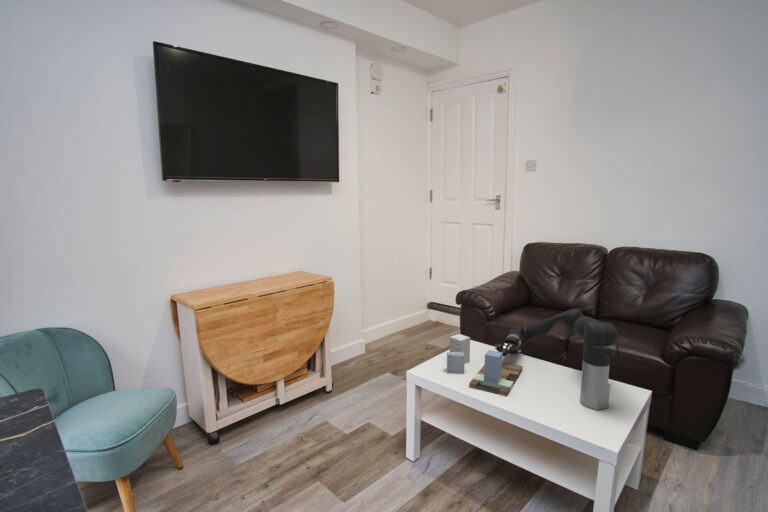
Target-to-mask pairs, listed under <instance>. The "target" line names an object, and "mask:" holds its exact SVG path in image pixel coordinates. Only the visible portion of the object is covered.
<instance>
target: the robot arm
mask: <svg viewBox="0 0 768 512" xmlns="http://www.w3.org/2000/svg"><path fill="white" fill-rule="evenodd" d="M562 320H563V322H564V324H565V326H566V328H567V330H568V331H569V332H570V333H571V334H575V335H579V336H580V337H582V338H583V346H582V347H583V349H582V350H583V352H582V353H583V355H582V368H581V381H580V396H579V402H580V404H582V405H583V406H584V407H586V408H590V409H593V410H595V411H600V410H604V409H608V408H609V405H610V393H611V384H610V383H609V376H610V375H609V374H610V366H611V365H610V363H611V359H610V356H609V355H608V354H606V353H604V352H602V351H600V350H597V349H596V348H595V346H596V347H606V348H607V347H613V346H614V345H615V344H616V343H617V341H618V336H619V335H618V331H617V328H616V327H615V325H614V324H613V323H611V322H607V321H600V320H598V319H595V318H592V317H590V316H585V315H584V314H583V312H582V310H581V309H580V308H572V309H568V310H566V311H563V312H560V313H559V314H556V315H553V316H551V317H548V318H546V319H544V320H541V321H538V322H534V323H530V324H527V326H526V327H525V328H524V326H523V325H522V324H520V323H517V324H514V325H512V326H511V327H510V329H509V333H508V336H506V338H505V339H504V340H503V341H502V343H499V344H498V343H495V344H494V348H495V350H496V352H502V353H503V355H502V357H507V356H508V355H512V356H513V355H519V354H521V352H522V348H521V347H520V346H521V345H523V344H525V343H527V342H528V341H530V340H533V339H534V338H537V337H541V336H545V335H547V334H549V333H550V331H551V330H552V329H553V328H554V327H555V325H557V323H559V322H561V321H562ZM525 329H526V330H525Z"/></svg>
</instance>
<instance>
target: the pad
mask: <svg viewBox="0 0 768 512" xmlns="http://www.w3.org/2000/svg"><path fill="white" fill-rule="evenodd" d="M472 379H477V380H480V384H483V385H487V386H491V387H496V388H500V389H501V388H502V386H503V385H504V386H508V387H510V392H511V390H512V388H514V385H513V381H509V380H504V379H501V380H500V382H499V383H498V384H495V383H491V382H486V381H484V375H482V374H477V373H476V374H475V376H474V377H473V378H472Z"/></svg>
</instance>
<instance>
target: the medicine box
mask: <svg viewBox="0 0 768 512" xmlns="http://www.w3.org/2000/svg"><path fill="white" fill-rule="evenodd" d="M464 360H465V356H464V353H461V352H450V351H447V352H446V373H447V372H450V373H451V374H465V363H464Z"/></svg>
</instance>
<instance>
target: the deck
mask: <svg viewBox="0 0 768 512" xmlns="http://www.w3.org/2000/svg"><path fill="white" fill-rule="evenodd" d="M484 366H485V364H484V365H483V366H482V367H481V369H479V370H478V372H477V373H476V374H482V375H484ZM523 367H524V366H522V365H519V364H518V365H517V364H513V363H508V362H503V361H502V376H501V379H504V380H509V381H513V386H515V384H516V382H517V381H518V379H519V376H520V375H521V374H520V373H522V371H523ZM468 385H469V388H471V389H475V390H479V391H483V392H486V393H487V392H488V393H492V394H496V395H500V396H504V397H508V396H509V394H510V392H511V391H510V387H508V386H504V385H503V386H502V388H501V389H500V388H496V387H491V386H487V385H483V384H480V380H477V379H473V378H472V379H471V380H470V382H469V384H468Z"/></svg>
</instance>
